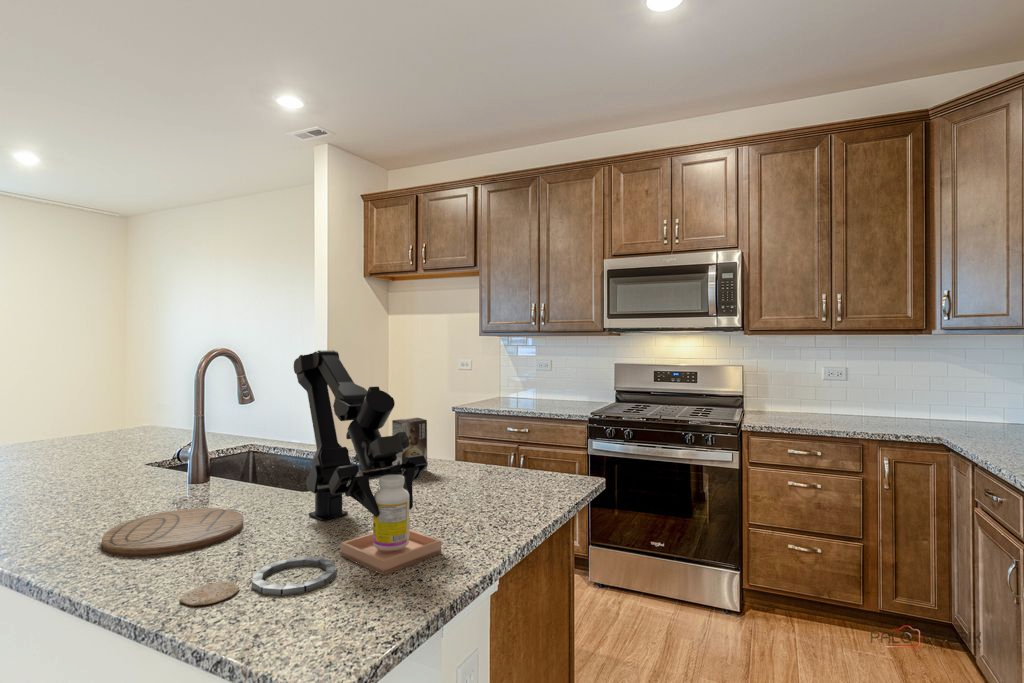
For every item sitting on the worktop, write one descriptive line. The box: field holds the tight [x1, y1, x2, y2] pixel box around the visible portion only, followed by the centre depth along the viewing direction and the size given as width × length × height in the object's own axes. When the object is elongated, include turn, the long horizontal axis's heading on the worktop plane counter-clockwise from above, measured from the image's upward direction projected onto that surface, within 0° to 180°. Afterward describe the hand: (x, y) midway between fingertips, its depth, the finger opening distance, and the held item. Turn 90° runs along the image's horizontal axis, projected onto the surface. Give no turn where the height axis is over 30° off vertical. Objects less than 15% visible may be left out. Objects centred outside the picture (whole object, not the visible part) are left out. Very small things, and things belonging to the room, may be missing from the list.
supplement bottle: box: [372, 475, 410, 551], centre depth 103 cm, size 7×7×13 cm
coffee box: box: [391, 417, 428, 472], centre depth 170 cm, size 9×6×16 cm
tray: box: [340, 528, 442, 576], centre depth 103 cm, size 13×13×2 cm
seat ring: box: [251, 556, 337, 597], centre depth 93 cm, size 13×13×1 cm
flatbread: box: [179, 581, 240, 607], centre depth 86 cm, size 8×8×1 cm
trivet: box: [101, 507, 244, 558], centre depth 114 cm, size 25×25×2 cm
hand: (394, 511), depth 102 cm, fingers closed on supplement bottle, 6 cm apart
